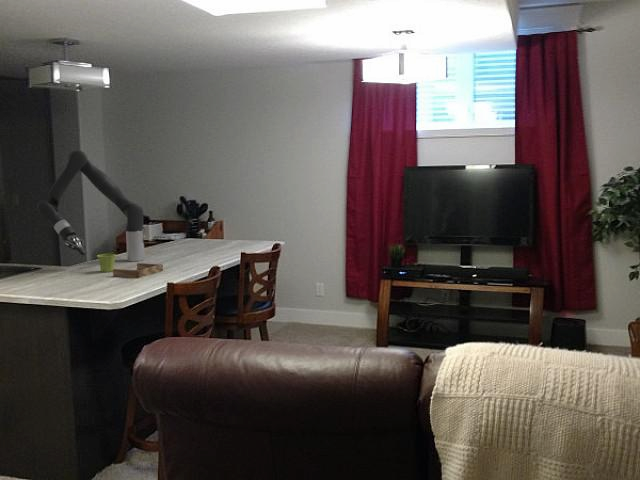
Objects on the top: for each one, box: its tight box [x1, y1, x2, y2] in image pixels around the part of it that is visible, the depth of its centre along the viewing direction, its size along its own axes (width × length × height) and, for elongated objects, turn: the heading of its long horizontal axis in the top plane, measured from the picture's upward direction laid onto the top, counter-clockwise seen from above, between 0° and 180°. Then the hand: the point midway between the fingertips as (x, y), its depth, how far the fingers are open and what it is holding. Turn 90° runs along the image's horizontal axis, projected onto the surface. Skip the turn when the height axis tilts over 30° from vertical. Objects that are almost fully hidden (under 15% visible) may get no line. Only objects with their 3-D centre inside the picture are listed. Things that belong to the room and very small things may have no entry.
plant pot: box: [96, 253, 117, 273], centre depth 320 cm, size 9×9×9 cm
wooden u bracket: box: [112, 262, 164, 279], centre depth 313 cm, size 20×15×4 cm
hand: (84, 254), depth 324 cm, fingers closed
